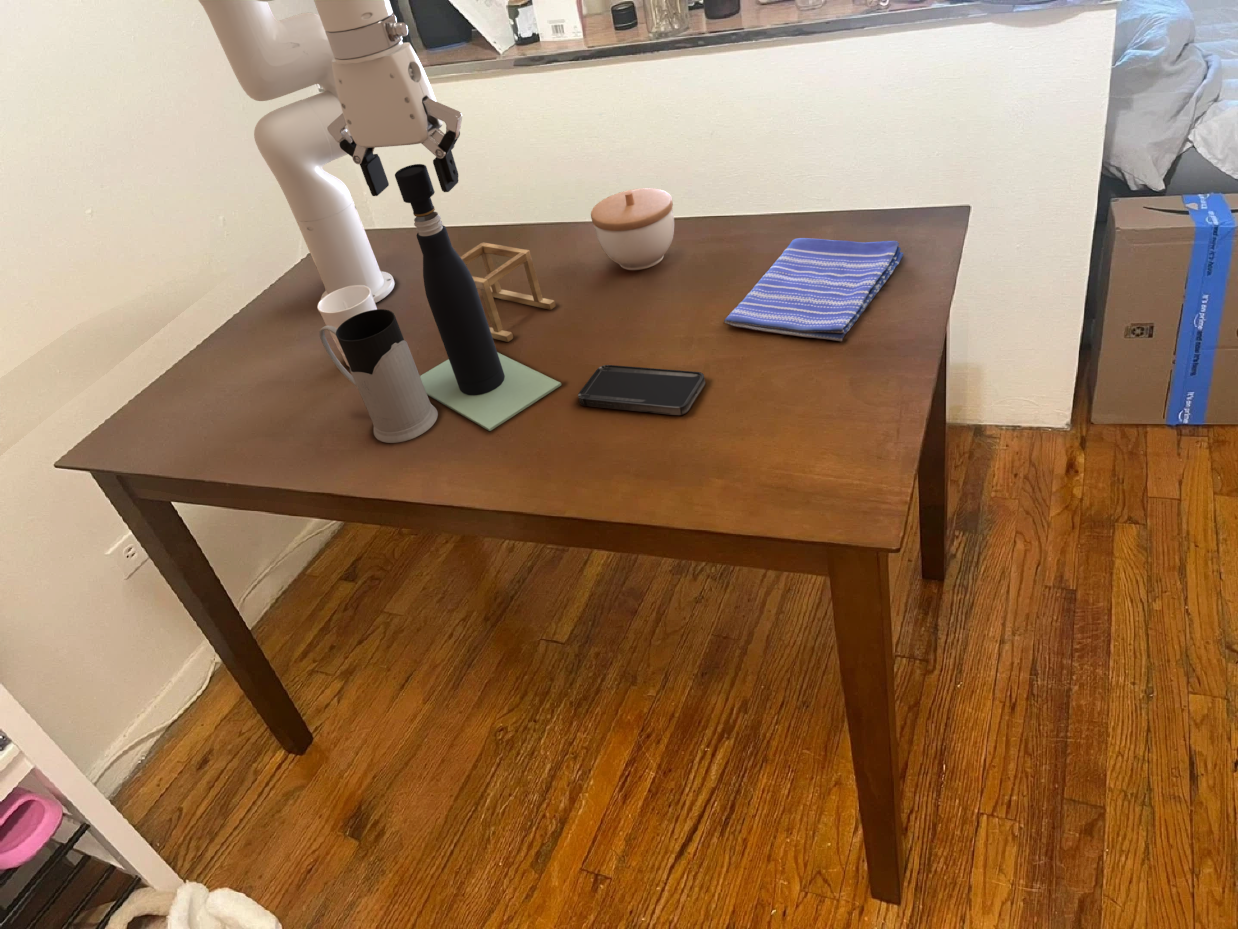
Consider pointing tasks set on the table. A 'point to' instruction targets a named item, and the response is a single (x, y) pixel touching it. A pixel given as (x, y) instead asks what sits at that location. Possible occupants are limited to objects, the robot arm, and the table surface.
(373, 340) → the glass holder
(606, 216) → the lidded bowl
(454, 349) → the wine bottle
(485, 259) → the bottle stand
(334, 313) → the white cup
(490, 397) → the mat
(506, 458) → the table surface
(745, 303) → the dish towel
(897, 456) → the table surface
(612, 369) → the phone
